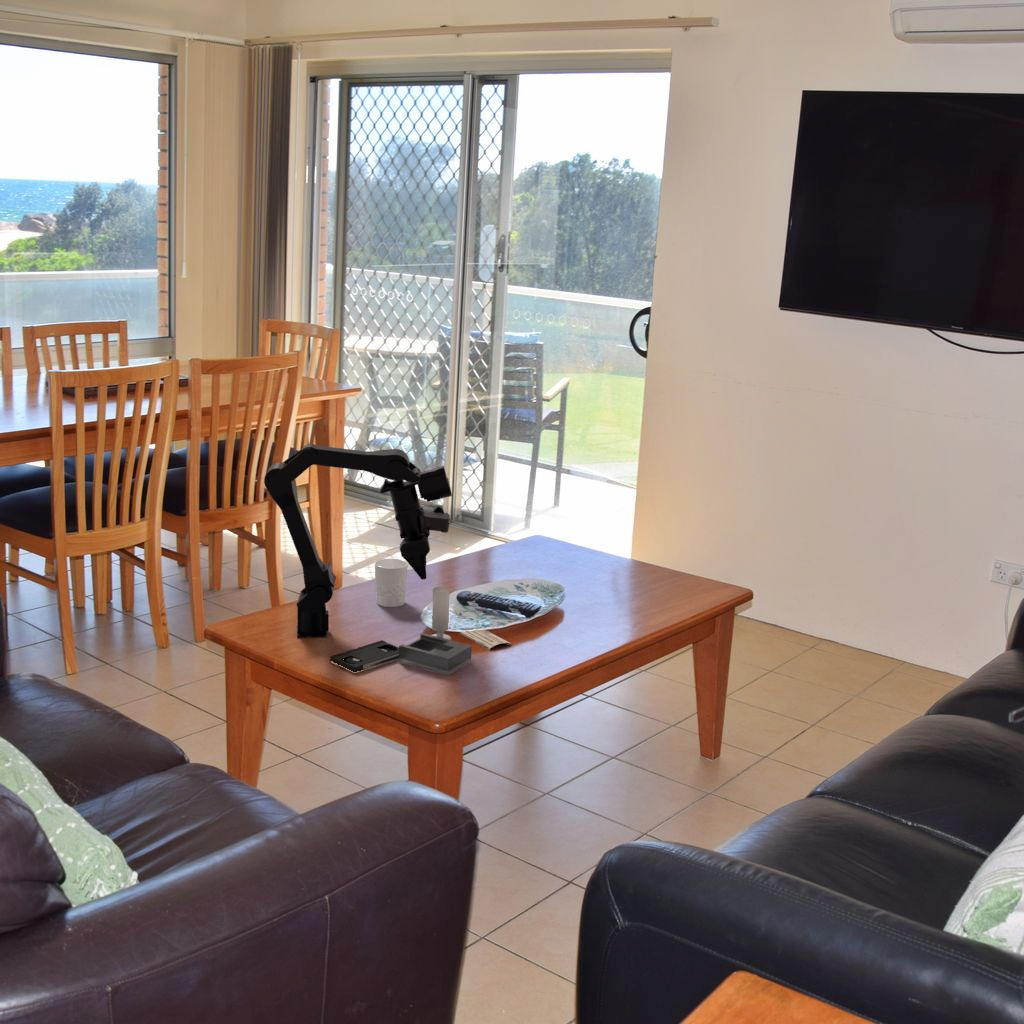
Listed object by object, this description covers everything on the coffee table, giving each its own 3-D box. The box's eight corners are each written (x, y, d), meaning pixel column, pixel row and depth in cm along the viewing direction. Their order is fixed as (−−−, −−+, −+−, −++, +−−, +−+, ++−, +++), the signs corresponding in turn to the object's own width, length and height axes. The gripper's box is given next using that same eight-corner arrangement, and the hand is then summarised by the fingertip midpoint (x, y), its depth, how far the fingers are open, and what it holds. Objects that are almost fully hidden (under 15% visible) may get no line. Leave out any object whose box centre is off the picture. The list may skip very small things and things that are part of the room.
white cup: (368, 605, 285) (368, 565, 283) (383, 595, 292) (384, 556, 290) (397, 610, 282) (398, 570, 280) (412, 600, 289) (413, 561, 287)
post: (429, 647, 260) (431, 593, 257) (427, 639, 265) (428, 585, 262) (452, 646, 261) (454, 593, 258) (449, 638, 266) (451, 585, 263)
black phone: (354, 676, 245) (354, 667, 244) (330, 665, 250) (330, 656, 249) (406, 659, 255) (406, 650, 254) (381, 648, 260) (381, 640, 260)
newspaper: (430, 620, 279) (431, 613, 278) (455, 615, 283) (456, 608, 282) (489, 653, 260) (489, 645, 260) (515, 647, 265) (515, 639, 264)
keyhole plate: (398, 662, 251) (399, 645, 250) (422, 649, 259) (423, 633, 258) (447, 675, 246) (448, 658, 245) (471, 662, 253) (471, 645, 252)
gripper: (443, 509, 251) (460, 577, 255) (442, 487, 269) (458, 551, 273) (392, 521, 251) (410, 589, 255) (394, 499, 269) (411, 563, 273)
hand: (424, 572), depth 264 cm, fingers open, 9 cm apart
